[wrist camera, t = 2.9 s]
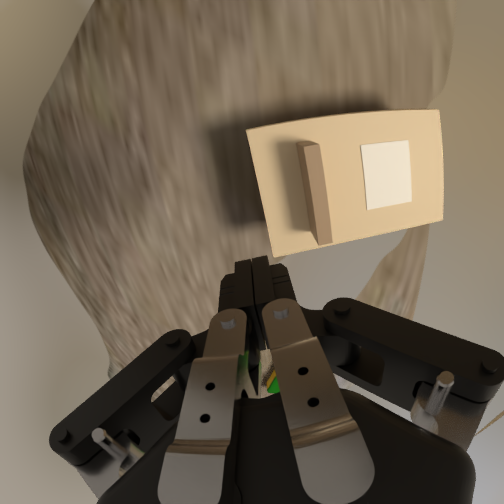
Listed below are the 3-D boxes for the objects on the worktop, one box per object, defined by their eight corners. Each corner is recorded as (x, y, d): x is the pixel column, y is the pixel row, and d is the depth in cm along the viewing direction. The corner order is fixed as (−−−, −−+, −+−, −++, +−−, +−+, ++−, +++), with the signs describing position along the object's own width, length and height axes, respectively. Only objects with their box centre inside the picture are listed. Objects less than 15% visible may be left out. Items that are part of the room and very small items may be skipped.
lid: (245, 129, 24) (247, 132, 19) (425, 108, 23) (458, 111, 18) (271, 246, 29) (277, 274, 24) (430, 212, 28) (458, 231, 23)
